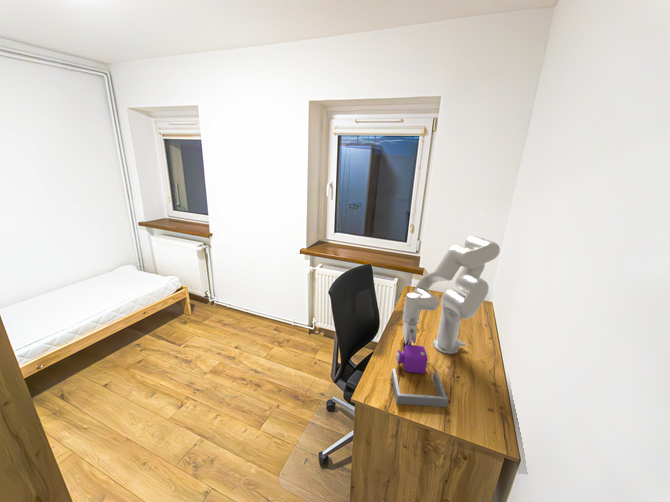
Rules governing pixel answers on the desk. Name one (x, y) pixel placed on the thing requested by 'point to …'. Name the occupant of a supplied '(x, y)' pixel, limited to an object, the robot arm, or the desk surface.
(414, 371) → the toy camera
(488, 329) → the desk surface
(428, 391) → the desk surface
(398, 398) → the cradle
